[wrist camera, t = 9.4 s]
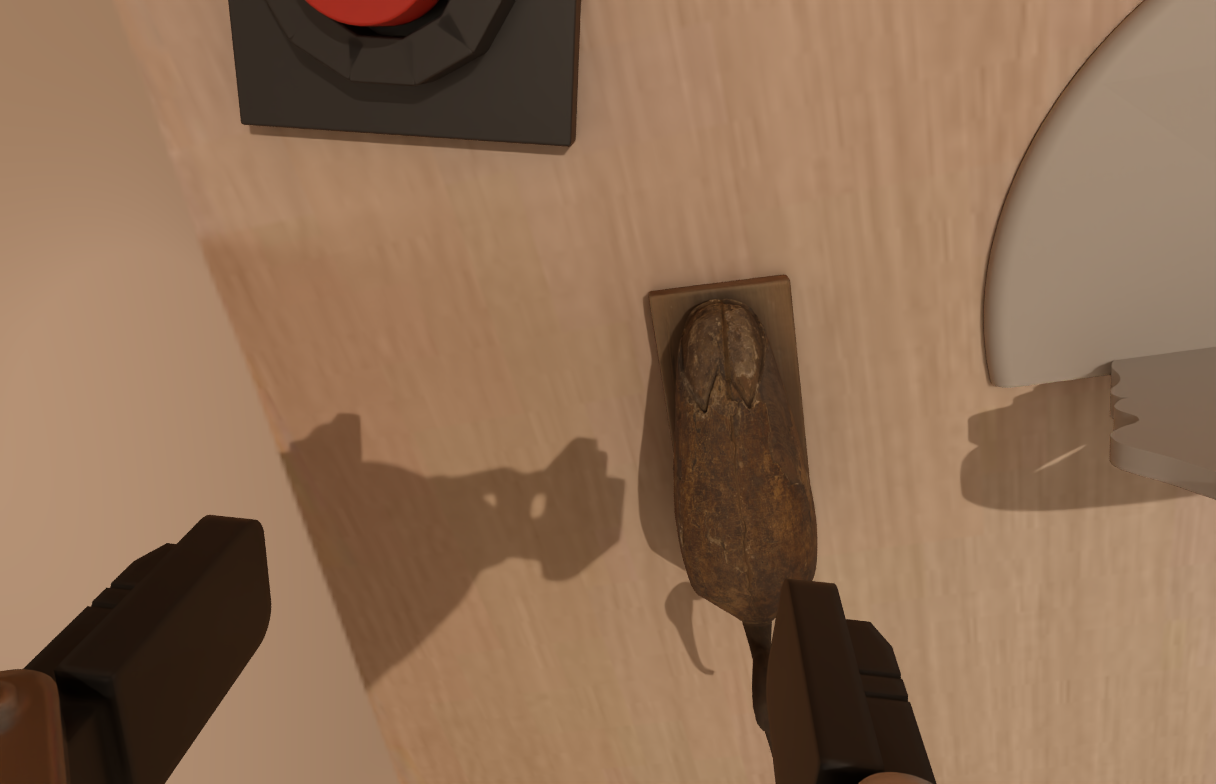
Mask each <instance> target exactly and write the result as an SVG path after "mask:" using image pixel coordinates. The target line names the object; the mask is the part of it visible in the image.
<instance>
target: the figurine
mask: <svg viewBox="0 0 1216 784" xmlns="http://www.w3.org/2000/svg"><path fill="white" fill-rule="evenodd" d="M649 302H650V309H651V315H652V321H653V327H654V333H655V339H656V345H657V352H658V358H659V364H660V371H661V377H662V383H663V389H664V396H665V402H666V408H667V414H668V421H669V427H670V433H671V440H672V446H673V452H674V465H673V470H674V506H675V518H676V525H677V532H678V538H679V543H680V548H681V552H682V557H683V561H684V564H685V568H686V571H687V574H688V578H689V580H690V583H691V585H692V587H693V589H694V591H695V592H696V593H697V594H698V595H699V596H701V597H703V598H705V599H706V600H708V601H710V602H711V603H713V604H714V605H716V606H718V607H719V608H721V609H723V610H724V611H726V612H728V613H730V614H731V615H733V616H735V617H736V618H738V619H739V620H741V621H742V622H743V626H744V629H745V632H746V636H747V639H748V643H749V646H750V650H751V654H752V658H753V672H752V699H753V709H754V713H755V717H756V721H757V724H758V725H759V726H760V728H761V729H762V730H763V731H765V734H766V737H767V740H768V743H769V746H770V750H771V753H772V746H771V737H770V729H769V720H768V711H767V700H766V681H767V667H768V660H769V654H770V648H771V627H772V620H774V619H775V618H776V615H777V609H778V604H779V598H780V593H781V588H782V584H783V581H784V579H785V578H788V579H797V580H806V581H812V579H813V578H814V575H815V570H816V562H817V524H816V515H815V508H814V502H813V496H812V491H811V487H810V479H809V468H808V458H807V448H806V438H805V428H804V417H803V407H802V397H801V386H800V377H799V367H798V357H797V347H796V337H795V326H794V317H793V306H792V296H791V285H790V280H789V278H788V277H787V276H786V275H777V276H769V277H760V278H752V279H745V280H738V281H729V282H722V283H713V284H704V285H696V286H689V287H680V288H673V289H665V290H657V291H651V292H650V294H649ZM772 757H773V755H772Z"/></svg>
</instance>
